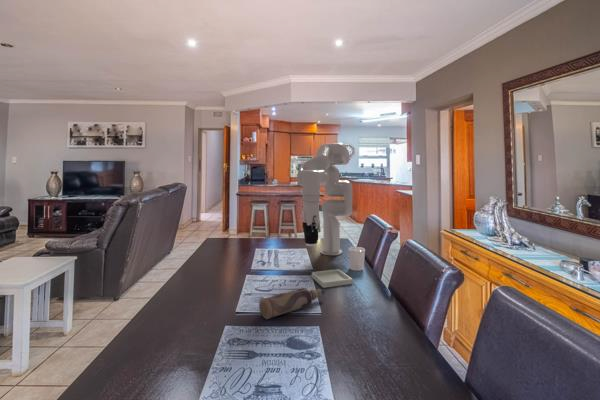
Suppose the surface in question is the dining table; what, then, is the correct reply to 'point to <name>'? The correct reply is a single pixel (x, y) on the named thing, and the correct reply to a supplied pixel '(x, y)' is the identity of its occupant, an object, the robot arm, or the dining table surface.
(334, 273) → the tray
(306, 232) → the dixie cup
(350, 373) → the dining table surface
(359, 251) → the white cup
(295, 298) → the decorative bottle
